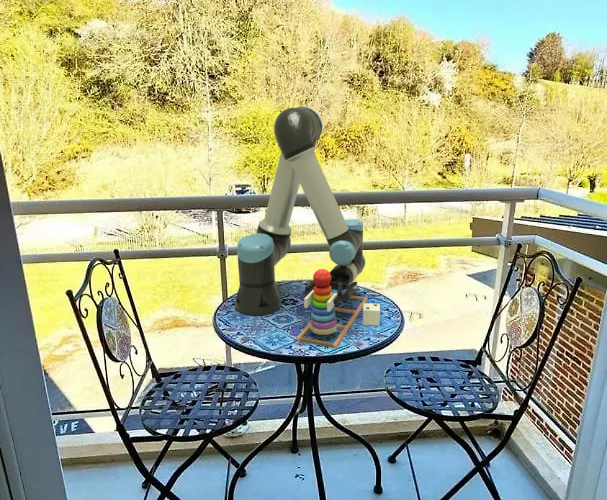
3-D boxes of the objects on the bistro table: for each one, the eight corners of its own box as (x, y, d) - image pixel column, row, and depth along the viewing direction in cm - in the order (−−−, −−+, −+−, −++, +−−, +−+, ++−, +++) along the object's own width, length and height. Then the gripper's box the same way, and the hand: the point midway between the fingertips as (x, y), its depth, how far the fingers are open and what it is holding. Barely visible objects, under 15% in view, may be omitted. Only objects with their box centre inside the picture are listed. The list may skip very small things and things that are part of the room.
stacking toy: (308, 323, 137) (307, 264, 131) (335, 322, 137) (335, 263, 132) (310, 336, 129) (309, 274, 124) (338, 335, 130) (338, 273, 124)
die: (362, 325, 139) (363, 309, 138) (363, 317, 144) (363, 302, 142) (379, 325, 139) (380, 310, 137) (379, 318, 143) (379, 303, 142)
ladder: (296, 340, 131) (296, 337, 131) (334, 295, 161) (334, 292, 160) (336, 348, 127) (336, 345, 126) (367, 299, 156) (367, 297, 156)
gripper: (371, 290, 144) (349, 322, 123) (314, 283, 151) (285, 312, 130) (371, 268, 141) (350, 297, 121) (314, 261, 148) (284, 287, 128)
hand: (316, 305), depth 126 cm, fingers closed on stacking toy, 6 cm apart
